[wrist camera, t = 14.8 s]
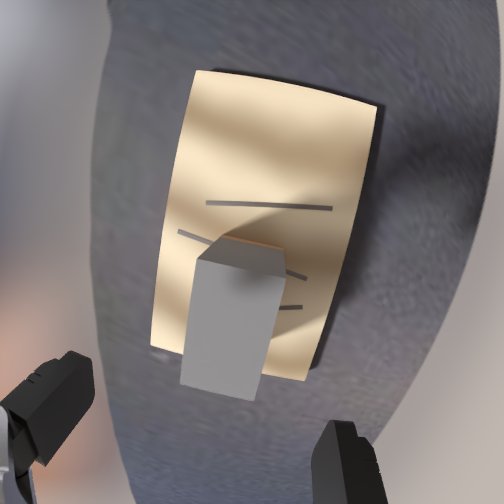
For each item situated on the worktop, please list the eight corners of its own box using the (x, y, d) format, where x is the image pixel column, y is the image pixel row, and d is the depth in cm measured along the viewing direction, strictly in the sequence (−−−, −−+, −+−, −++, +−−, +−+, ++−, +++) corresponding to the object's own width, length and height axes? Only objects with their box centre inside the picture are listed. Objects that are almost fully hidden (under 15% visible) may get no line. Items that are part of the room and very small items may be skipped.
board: (200, 75, 19) (196, 69, 18) (371, 110, 18) (377, 107, 17) (155, 337, 23) (150, 345, 22) (303, 372, 23) (304, 381, 22)
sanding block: (222, 234, 20) (196, 258, 14) (283, 248, 20) (286, 278, 13) (205, 330, 21) (179, 383, 15) (260, 343, 21) (253, 401, 15)
